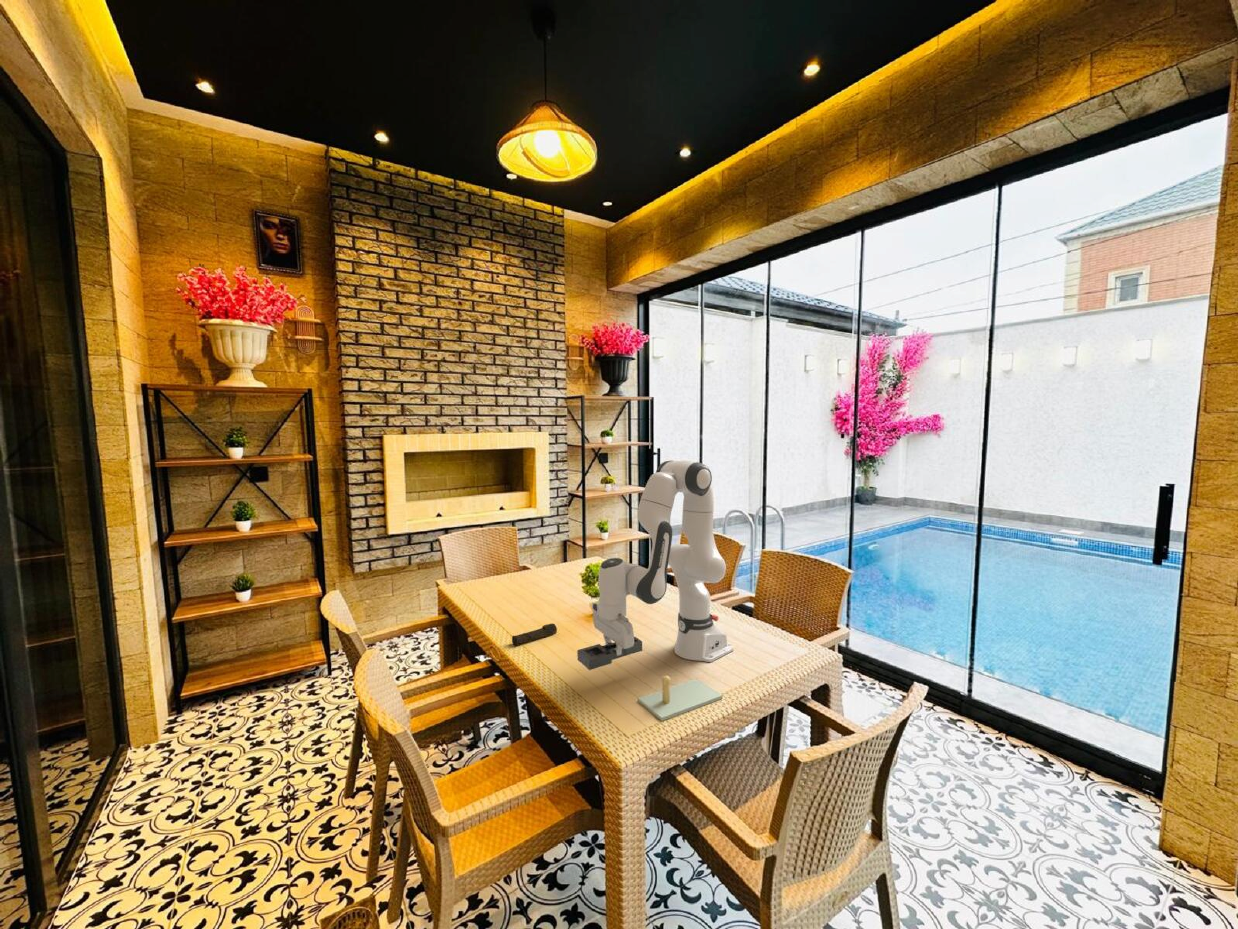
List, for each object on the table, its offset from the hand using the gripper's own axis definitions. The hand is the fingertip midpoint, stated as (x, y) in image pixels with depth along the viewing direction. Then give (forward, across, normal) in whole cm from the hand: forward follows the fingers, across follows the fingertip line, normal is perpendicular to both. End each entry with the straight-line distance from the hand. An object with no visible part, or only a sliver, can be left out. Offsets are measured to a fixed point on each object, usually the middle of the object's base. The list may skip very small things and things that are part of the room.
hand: (613, 650), depth 161 cm
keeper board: (+10, -20, -12) cm, 25 cm away
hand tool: (+10, +43, +10) cm, 46 cm away
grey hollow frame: (+2, 0, +1) cm, 2 cm away
